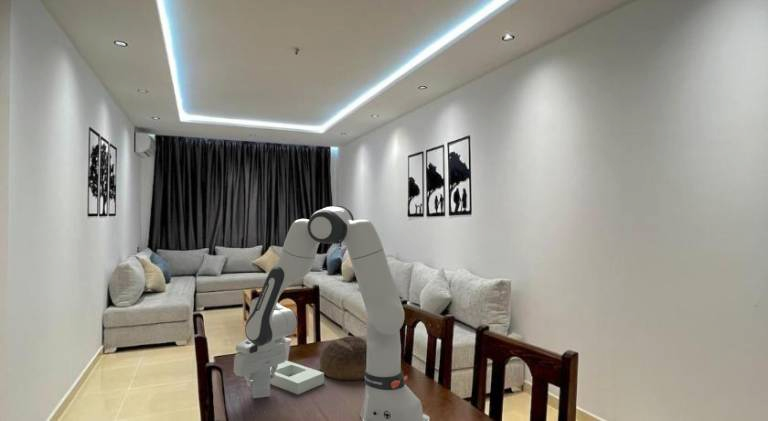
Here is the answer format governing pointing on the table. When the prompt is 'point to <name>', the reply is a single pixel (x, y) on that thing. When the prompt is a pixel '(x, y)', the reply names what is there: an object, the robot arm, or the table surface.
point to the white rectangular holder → (296, 377)
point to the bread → (345, 358)
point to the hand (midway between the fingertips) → (260, 381)
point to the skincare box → (262, 382)
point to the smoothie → (287, 346)
